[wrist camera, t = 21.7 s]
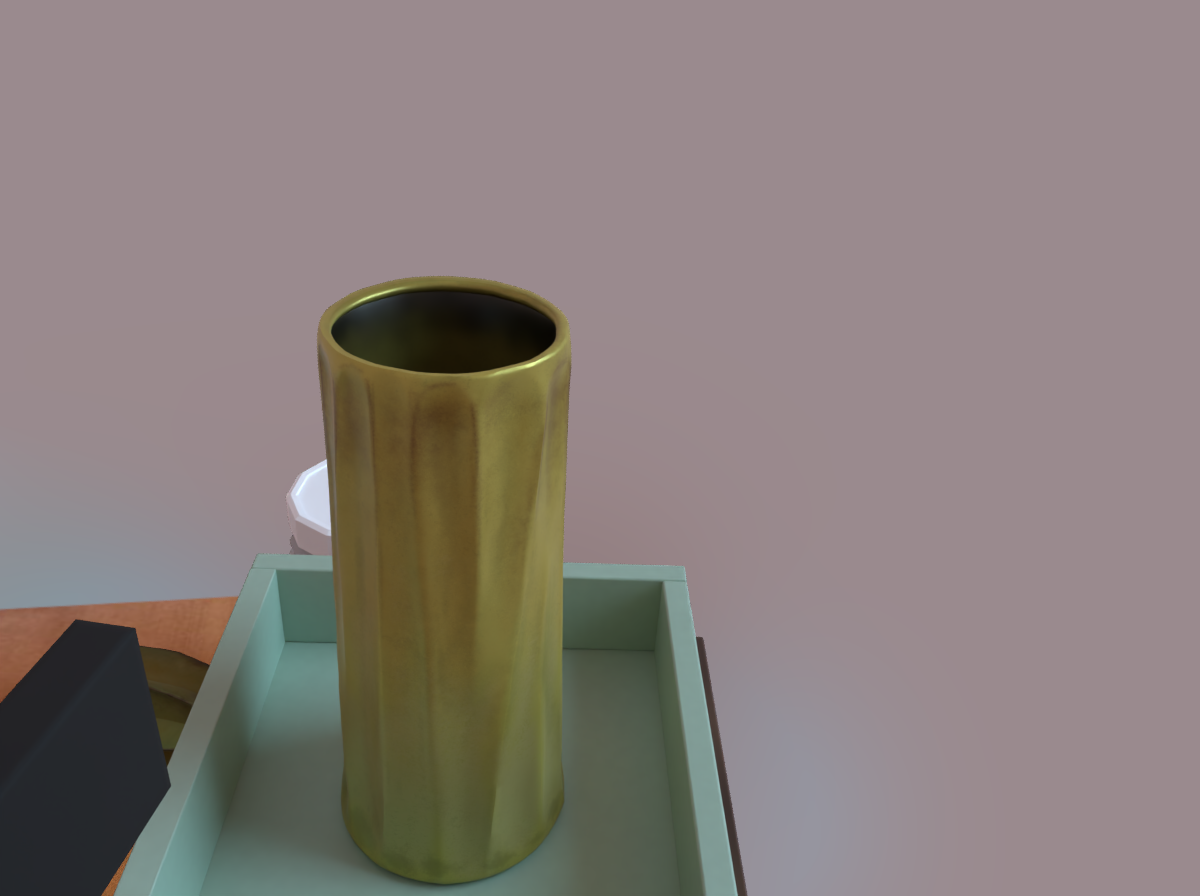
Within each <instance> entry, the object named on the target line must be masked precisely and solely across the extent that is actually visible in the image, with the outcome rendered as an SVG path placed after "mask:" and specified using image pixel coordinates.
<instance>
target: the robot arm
mask: <svg viewBox="0 0 1200 896" xmlns="http://www.w3.org/2000/svg"><path fill="white" fill-rule="evenodd" d="M170 787H171V782H170V778H169V774H168V769H167V765H166V761H165V756H164V752H163V747H162V743H161V739H160V734H159V730H158V726H157V721H156V717H155V712H154V708H153V704H152V699H151V695H150V691H149V686H148V682H147V677H146V673H145V669H144V664H143V660H142V656H141V651H140V647H139V642H138V638H137V634H136V629H135V628H131V627H124V626H117V625H110V624H103V623H96V622H90V621H83V620H75V621H74V622H73V623H72V624H71V625H70V626H69V627H68V629H67V630H66V631H65V632H64V633H63V634H62V635H61V636H60V638H59V639H58V640H57V641H56V642H55V643H54V644H53V645H52V646H51V648H50V649H49V650H48V651H47V652H46V653H45V654H44V655H43V656H42V658H41V659H40V660H39V661H38V662H37V663H36V664H35V665H34V666H33V668H32V669H31V670H30V671H29V672H28V673H27V674H26V675H25V676H24V678H23V679H22V680H21V681H20V682H19V683H18V684H17V685H16V686H15V688H14V689H13V690H12V691H11V692H10V693H9V694H8V695H7V696H6V698H5V699H4V700H3V701H2V702H1V703H0V896H101V895H102V893H103V892H104V890H105V889H106V887H107V886H108V884H109V882H110V881H111V879H112V878H113V876H114V875H115V873H116V872H117V870H118V868H119V867H120V865H121V864H122V862H123V861H124V859H125V857H126V856H127V854H128V853H129V851H130V850H131V848H132V847H133V845H134V843H135V842H136V840H137V839H138V837H139V836H140V834H141V832H142V831H143V829H144V828H145V826H146V825H147V823H148V822H149V820H150V818H151V817H152V815H153V814H154V812H155V811H156V809H157V807H158V806H159V804H160V803H161V801H162V800H163V798H164V797H165V795H166V793H167V792H168V790H169V789H170Z"/></svg>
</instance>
